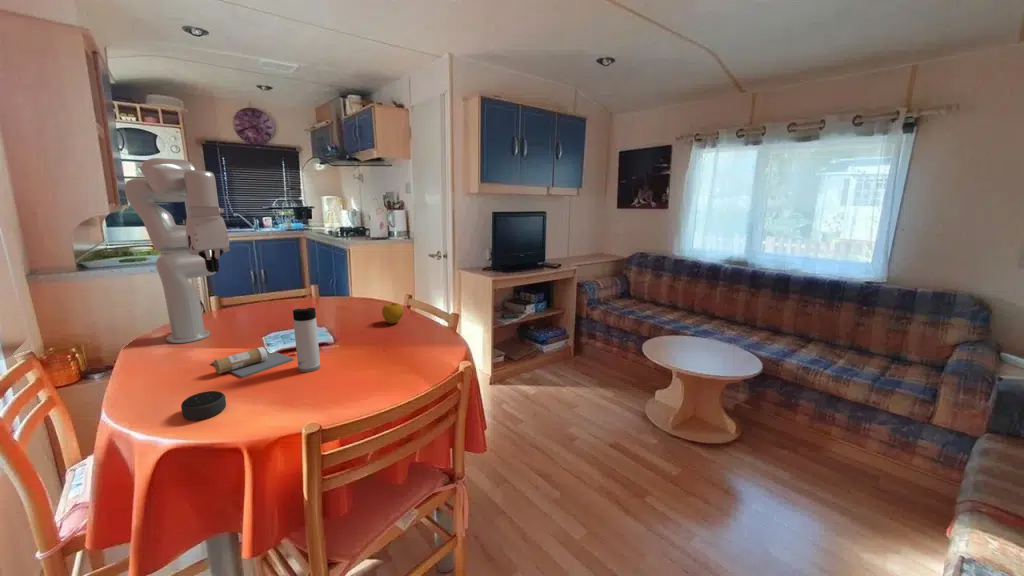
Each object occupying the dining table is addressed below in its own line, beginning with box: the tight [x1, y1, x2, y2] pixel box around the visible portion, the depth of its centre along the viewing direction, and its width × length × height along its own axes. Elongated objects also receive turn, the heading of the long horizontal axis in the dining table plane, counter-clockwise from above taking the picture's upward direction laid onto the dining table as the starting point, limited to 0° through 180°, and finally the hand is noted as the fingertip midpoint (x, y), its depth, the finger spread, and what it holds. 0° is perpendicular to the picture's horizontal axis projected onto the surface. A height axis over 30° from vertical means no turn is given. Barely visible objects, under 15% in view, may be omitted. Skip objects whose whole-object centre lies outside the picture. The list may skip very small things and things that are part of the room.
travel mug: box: [292, 307, 321, 373], centre depth 128 cm, size 6×7×20 cm
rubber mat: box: [211, 346, 294, 379], centre depth 133 cm, size 18×16×1 cm
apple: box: [381, 302, 404, 325], centre depth 174 cm, size 9×9×9 cm
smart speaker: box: [180, 390, 227, 420], centre depth 103 cm, size 9×9×4 cm
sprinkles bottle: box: [213, 346, 267, 375], centre depth 128 cm, size 5×5×13 cm
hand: (213, 271), depth 129 cm, fingers closed
